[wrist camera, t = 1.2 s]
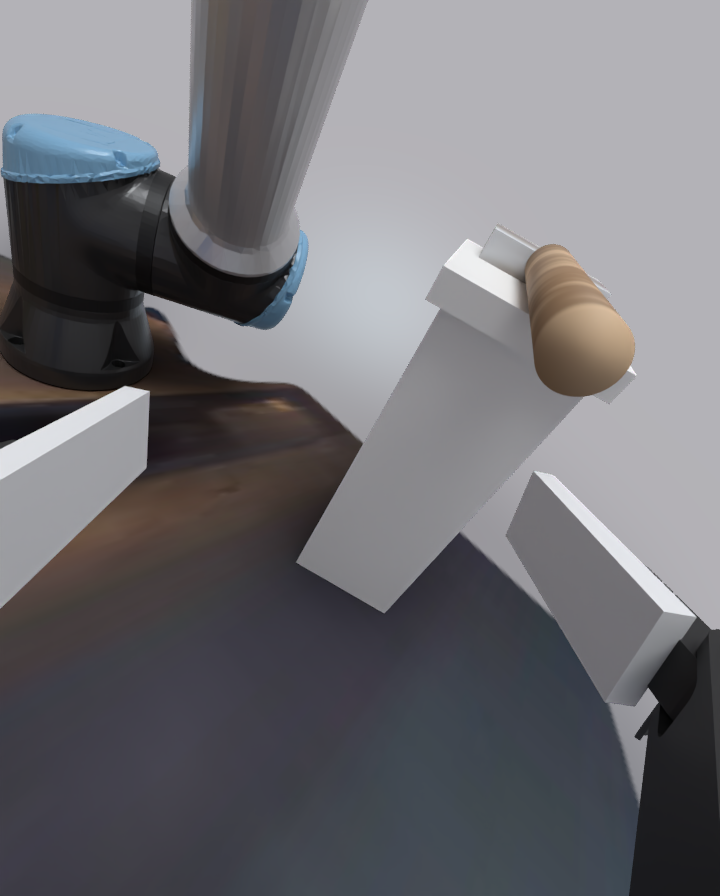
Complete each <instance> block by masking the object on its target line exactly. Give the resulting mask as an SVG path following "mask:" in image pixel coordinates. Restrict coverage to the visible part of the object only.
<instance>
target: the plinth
mask: <svg viewBox="0 0 720 896" xmlns="http://www.w3.org/2000/svg"><path fill="white" fill-rule="evenodd" d="M482 250H483V247H481V246H479V245H478V244H476V243H474V242H472V241H470V240H469V239H467V240H466V241H465V242H464V243H463V244H462V245H461V246H460V247H459V248H458V250H457V251H456V252H455V253H454V254H453V255H452V256H451V257H450V259H449V260H448V261H447V262H446V263H445V264H444V265H443V267H442V269H441V271H440V273H439V275H438V277H437V279H436V280H435V282H434V284H433V286H432V288H431V290H430V291H429V293H428V295H427V297H426V300H427V301H429V302H431V303H432V304H434V305H436V306H438V307H440V310H439V312H438V313H437V315H436V317H435V319H434V321H433V322H432V324H431V326H430V328H429V330H428V331H427V333H426V335H425V336H424V338H423V340H422V342H421V343H420V345H419V347H418V349H417V350H416V352H415V354H414V356H413V357H412V359H411V361H410V363H409V364H408V366H407V368H406V370H405V371H404V373H403V375H402V377H401V378H400V380H399V382H398V384H397V386H396V387H395V389H394V391H393V393H392V394H391V396H390V398H389V400H388V401H387V403H386V405H385V407H384V409H383V410H382V412H381V414H380V416H379V417H378V419H377V421H376V422H375V424H374V426H373V428H372V429H371V431H370V433H369V435H368V437H367V438H366V440H365V442H364V443H363V445H362V447H361V449H360V451H359V452H358V454H357V456H356V458H355V459H354V461H353V463H352V465H351V466H350V468H349V470H348V472H347V473H346V475H345V477H344V479H343V480H342V482H341V484H340V486H339V487H338V489H337V491H336V493H335V494H334V496H333V498H332V500H331V501H330V503H329V505H328V507H327V509H326V510H325V512H324V514H323V516H322V517H321V519H320V521H319V523H318V524H317V526H316V528H315V530H314V531H313V533H312V535H311V537H310V538H309V540H308V542H307V544H306V545H305V547H304V549H303V551H302V552H301V554H300V556H299V558H298V559H297V561H296V563H298V564H299V565H301V566H303V567H305V568H306V569H308V570H310V571H311V572H313V573H315V574H317V575H318V576H320V577H322V578H324V579H325V580H327V581H329V582H330V583H332V584H334V585H336V586H337V587H339V588H341V589H343V590H344V591H346V592H348V593H350V594H351V595H353V596H355V597H356V598H358V599H360V600H362V601H363V602H365V603H367V604H369V605H370V606H372V607H374V608H375V609H377V610H379V611H381V612H382V613H385V612H386V611H387V610H388V609H389V608H390V607H391V606H392V605H393V604H394V602H395V601H396V600H397V599H398V598H399V597H400V596H401V595H402V594H403V593H404V592H405V591H406V589H407V588H408V587H409V586H410V585H411V584H412V583H413V582H414V581H415V580H416V579H417V577H418V576H419V575H420V574H421V573H422V572H423V571H424V570H425V569H426V568H427V567H428V565H429V564H430V563H431V562H432V561H433V560H434V559H435V558H436V557H437V556H438V555H439V554H440V552H441V551H442V550H443V549H444V548H445V547H446V546H447V545H448V544H449V543H450V542H451V540H452V539H453V538H454V537H455V536H456V535H457V534H458V533H459V532H460V531H461V530H462V529H463V527H464V526H465V525H466V524H467V523H468V522H469V521H470V520H471V519H472V518H473V516H474V515H475V514H476V513H477V512H478V511H479V510H480V509H481V508H482V507H483V505H485V504H486V502H487V501H488V500H489V499H490V498H491V497H492V496H493V495H494V494H495V493H496V492H497V490H498V489H499V488H500V487H501V486H502V485H503V484H504V483H505V482H506V481H507V479H509V477H510V476H511V475H512V474H513V473H514V472H515V471H516V470H517V469H518V468H519V466H520V465H521V464H522V463H523V462H524V461H525V460H526V459H527V458H528V457H529V456H530V455H531V454H532V452H533V451H534V450H535V449H536V448H537V447H538V446H539V445H540V444H541V443H542V441H543V440H544V439H545V438H546V437H547V436H548V435H549V434H550V433H551V432H552V431H553V430H554V429H555V427H556V426H557V425H558V424H559V423H560V422H561V421H562V420H563V419H564V418H565V417H566V415H567V414H568V413H569V412H570V411H571V410H572V409H573V408H574V407H575V406H576V405H577V404H578V402H579V401H580V400H581V399H582V398H583V397H584V396H583V397H572V396H565V395H562V394H559V393H556V392H554V391H552V390H551V389H549V388H548V387H547V386H546V385H544V383H543V382H542V381H541V380H540V378H539V377H538V375H537V372H536V369H535V365H534V355H533V346H532V337H531V327H530V318H529V308H528V299H527V289H526V284H525V283H523V282H521V281H519V280H518V279H516V278H514V277H512V276H511V275H509V274H507V273H505V272H504V271H502V270H500V269H498V268H497V267H495V266H493V265H491V264H489V263H488V262H486V261H484V260H482V259H481V258H479V255H480V253H481V252H482ZM636 376H637V375H636V374H635V372H634V371H633V369H632V367H631V366H630V367H629V369H628V370H627V372H626V373H625V374H624V376H623V377H622V378H621V379H620V380H619V381H618V382H617V383H615V384H614V385H613V386H611V387H609V388H608V389H606V390H604V391H602V392H599V393H597V394H594V396H595V397H597V398H599V399H601V400H602V401H604V402H606V403H608V404H610V403H611V402H612V401H613V400H614V399H615V398H616V397H617V396H618V395H619V394H620V393H621V392H622V391H623V390H624V389H625V388H626V387H627V386H628V384H630V382H632V381H633V380H634V378H635V377H636Z"/></svg>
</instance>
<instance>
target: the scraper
mask: <svg viewBox="0 0 720 896" xmlns="http://www.w3.org/2000/svg"><path fill="white" fill-rule="evenodd" d="M479 258H481V259H482V260H484V261H486V262H488V263H489V264H491V265H493V266H495V267H497V268H498V269H500V270H502V271H504V272H505V273H507V274H509V275H511V276H512V277H514V278H516V279H518V280H519V281H521V282H523V283H525V284H526V289H527V299H528V308H529V318H530V327H531V337H532V346H533V355H534V365H535V369H536V372H537V375H538V377H539V378H540V380H541V381H542V382H543V383H544V385H546V386H547V387H548V388H549V389H551V390H552V391H554V392H556V393H559V394H562V395H565V396H572V397H583V396H589V395H594V394H597V393H599V392H602V391H604V390H606V389H608V388H609V387H611V386H613V385H614V384H615V383H617V382H618V381H619V380H620V379H621V378H622V377H623V376H624V374H625V373H626V372H627V370H628V369H629V367H630V365H631V363H632V360H633V357H634V352H635V342H634V337H633V334H632V332H631V330H630V328H629V327H628V325H627V324H626V323H625V322H624V320H623V319H622V318H621V317H620V315H619V314H618V313H617V312H616V310H615V309H614V308H613V306H612V305H611V304H610V303H609V301H608V300H607V299H608V298H609V297H610V296H611V294H610V292H609V291H608V290H607V289H606V288H605V287H604V286H603V285H602V283H601V282H600V281H599V280H597V279H595V278H594V277H592V276H590V275H588V274H586V273H585V271H584V270H583V269H582V268H581V266H580V265H579V264H578V263H577V261H576V260H575V259H574V258H573V256H572V255H571V254H570V253H569V251H568V250H567V249H566V248H564V247H563V246H560V245H556V244H550V245H545V246H543V247H539V246H537V245H535V244H534V243H532V242H530V241H528V240H527V239H525V238H523V237H521V236H520V235H518V234H516V233H514V232H513V231H511V230H509V229H507V228H505V227H504V226H502V225H500V224H499V223H498V224H497V225H496V227H495V229H494V231H493V232H492V234H491V236H490V237H489V239H488V241H487V243H486V244H485V246H484V248H483V250H482V252H481V253H480V255H479Z"/></svg>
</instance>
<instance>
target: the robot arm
mask: <svg viewBox="0 0 720 896" xmlns="http://www.w3.org/2000/svg"><path fill="white" fill-rule="evenodd" d="M367 2H368V0H192V2H191V55H190V107H189V112H190V113H189V160H188V162H189V163H188V166H187V167H185V168H184V169H183V170H182V171H181V172H180V173H179V174H178V175H177V177H175V176H173V175H170V174H168V173H166V172H163V171H161V170H160V169H159V167H160V161H159V158H158V153H157V151H156V149H155V148H154V147H153V146H151V145H150V144H149V143H147V142H144V141H142V140H140V139H139V138H137V137H135V136H133V135H130V134H128V133H125V132H122V131H119V130H116V129H113V128H110V127H106V126H103V125H99V124H95V123H91V122H87V121H83V120H79V119H74V118H68V117H62V116H55V115H47V114H24V115H18V116H16V117H13V118H11V119H10V120H9V121H8V122H7V123H6V124H5V126H4V129H3V134H2V136H3V137H2V141H3V168H1V176H2V177H3V178H4V188H5V197H6V207H7V215H8V226H9V235H10V245H11V254H12V263H13V274H14V281H13V284H12V287H11V289H10V292H9V295H8V297H7V300H6V303H5V306H4V308H3V311H2V314H1V316H0V351H1V353H2V355H3V357H4V358H5V359H6V360H7V362H8V363H9V364H11V365H12V366H13V367H14V368H16V369H17V370H18V371H20V372H22V373H23V374H25V375H27V376H29V377H31V378H34V379H36V380H39V381H42V382H44V383H48V384H51V385H55V386H59V387H64V388H71V389H79V390H106V389H114V388H119V387H122V388H120V389H118V390H116V391H114V392H112V393H110V394H108V395H106V396H104V397H102V398H100V399H98V400H96V401H94V402H92V403H90V404H88V405H86V406H84V407H83V408H81V409H79V410H77V411H75V412H73V413H71V414H69V415H67V416H65V417H63V418H61V419H59V420H57V421H55V422H53V423H51V424H49V425H47V426H45V427H43V428H41V429H39V430H37V431H35V432H33V433H31V434H29V435H27V436H25V437H23V438H21V439H19V440H10V441H5V442H1V443H0V609H1V608H2V607H3V606H4V605H5V604H6V603H7V602H8V601H9V600H10V599H11V598H12V597H13V596H14V595H15V594H16V593H17V592H18V591H19V590H20V589H21V588H22V587H23V586H24V585H25V584H27V583H28V582H29V581H30V580H31V579H32V578H33V577H34V576H35V575H36V574H37V573H38V572H39V571H40V570H41V569H42V568H43V567H44V566H45V565H46V564H47V563H48V562H49V561H50V560H51V559H52V558H54V557H55V556H56V555H57V554H58V553H59V552H60V551H61V550H62V549H63V548H64V547H65V546H66V545H67V544H68V543H69V542H70V541H71V540H72V539H73V538H74V537H75V536H76V535H77V534H78V533H79V532H81V531H82V530H83V529H84V528H85V527H86V526H87V525H88V524H89V523H90V522H91V521H92V520H93V519H94V518H95V517H96V516H97V515H98V514H99V513H100V512H101V511H102V510H103V509H104V508H105V507H106V506H108V505H109V504H110V503H111V502H112V501H113V500H114V499H115V498H116V497H117V496H118V495H119V494H120V493H121V492H122V491H123V490H124V489H125V488H126V487H127V486H128V485H129V484H130V483H131V482H132V481H133V480H135V479H136V478H137V477H138V476H139V475H140V474H141V473H142V472H143V471H144V470H145V469H146V468H147V446H148V421H149V397H150V391H146V390H141V389H136V388H131V387H127V385H130V384H132V383H135V382H137V381H139V380H140V379H142V378H143V377H144V376H146V375H147V374H148V372H149V371H150V369H151V367H152V364H153V356H154V342H153V338H152V334H151V331H150V327H149V323H148V320H147V316H146V312H145V308H144V305H143V298H144V293H147V294H151V295H153V296H157V297H160V298H164V299H166V300H169V301H173V302H176V303H179V304H182V305H185V306H188V307H191V308H194V309H197V310H200V311H204V312H206V313H209V314H213V315H216V316H219V317H222V318H225V319H228V320H231V321H234V323H236V324H238V325H240V326H250V327H255V328H258V329H263V330H267V329H271V328H273V327H275V326H276V325H277V324H278V323H279V322H280V321H281V320H282V318H283V317H284V316H285V314H286V312H287V311H288V309H289V307H290V305H291V303H292V298H293V296H294V294H295V293H296V292H297V289H298V287H299V284H300V282H301V279H302V275H303V272H304V269H305V264H306V260H307V254H308V239H307V236H306V235H305V233H304V232H303V231H301V230H300V226H299V220H298V215H297V212H296V210H295V207H294V205H295V202H296V200H297V197H298V194H299V191H300V189H301V186H302V183H303V180H304V177H305V175H306V172H307V169H308V166H309V163H310V161H311V158H312V155H313V152H314V149H315V147H316V144H317V141H318V138H319V136H320V133H321V130H322V127H323V124H324V121H325V119H326V116H327V113H328V110H329V108H330V105H331V102H332V99H333V96H334V94H335V91H336V88H337V85H338V83H339V79H340V77H341V74H342V71H343V69H344V66H345V63H346V60H347V57H348V55H349V52H350V49H351V46H352V43H353V41H354V38H355V35H356V32H357V29H358V27H359V24H360V21H361V18H362V15H363V13H364V10H365V7H366V4H367ZM123 386H124V387H123ZM506 537H507V538H508V540H509V542H510V543H511V545H512V547H513V549H514V550H515V552H516V554H517V555H518V557H519V559H520V560H521V562H522V564H523V565H524V567H525V569H526V570H527V572H528V574H529V575H530V577H531V579H532V580H533V582H534V584H535V585H536V587H537V589H538V591H539V592H540V594H541V595H542V597H543V599H544V601H545V602H546V604H547V606H548V607H549V609H550V611H551V612H552V614H553V616H554V618H555V619H556V621H557V623H558V624H559V626H560V628H561V629H562V631H563V633H564V634H565V636H566V638H567V639H568V641H569V643H570V644H571V646H572V648H573V650H574V651H575V653H576V655H577V656H578V658H579V660H580V661H581V663H582V665H583V666H584V668H585V670H586V671H587V673H588V675H589V676H590V678H591V680H592V681H593V683H594V685H595V687H596V688H597V690H598V692H599V693H600V695H601V697H602V698H603V700H604V702H607V703H614V704H622V705H628V706H636V704H637V703H638V701H639V700H640V698H641V697H642V695H643V694H644V692H645V691H646V690H647V688H649V689H650V690H651V692H652V693H653V694H654V696H655V697H656V699H657V700H658V702H659V703H658V704H657V705H656V707H655V708H654V710H653V711H652V712H651V714H650V715H649V716H648V718H647V719H646V720H645V722H644V723H643V725H642V727H640V729H639V730H638V732H637V733H636V735H635V738H637V739H638V740H640V739H641V738H642V737H643V735H648V739H647V748H646V757H645V765H644V773H643V783H642V790H641V799H640V808H639V816H638V825H637V833H636V842H635V850H634V859H633V867H632V876H631V884H630V893H629V896H720V630H719V629H716V630H711V629H710V628H709V627H708V626H707V625H706V624H705V623H704V622H703V621H702V620H701V619H700V618H699V617H698V616H697V615H696V614H695V613H694V612H693V611H692V610H691V609H690V608H689V607H688V606H687V605H686V604H685V603H684V602H683V601H682V600H681V599H680V598H679V597H678V596H676V595H674V594H673V591H672V590H670V588H668V587H667V586H666V585H665V584H663V583H662V581H661V580H660V579H659V578H658V577H657V576H656V575H655V574H654V573H653V572H652V571H651V570H650V569H649V568H648V567H647V566H645V565H644V564H643V563H642V562H641V561H640V560H639V559H638V558H637V557H636V556H635V555H634V554H633V553H632V552H631V551H630V550H629V549H628V548H627V547H626V546H625V545H623V543H621V541H620V540H619V539H618V538H617V537H615V535H613V534H612V532H610V531H609V530H608V529H607V528H606V527H605V526H604V525H603V524H602V523H601V522H600V521H599V520H598V519H597V518H596V517H595V516H594V515H593V514H592V513H591V512H590V511H589V510H588V509H587V508H586V507H585V506H584V505H583V504H582V503H581V502H580V501H579V500H578V499H577V498H576V497H575V496H574V495H573V494H572V493H571V492H570V491H569V490H568V489H567V488H566V487H565V486H564V485H563V484H562V483H561V482H560V481H559V480H558V479H557V478H556V477H555V476H554V475H551V474H546V473H541V472H536V471H533V473H532V475H531V478H530V480H529V482H528V485H527V487H526V489H525V492H524V494H523V496H522V499H521V501H520V503H519V506H518V508H517V510H516V513H515V515H514V517H513V520H512V522H511V524H510V527H509V529H508V531H507V534H506Z"/></svg>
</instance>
